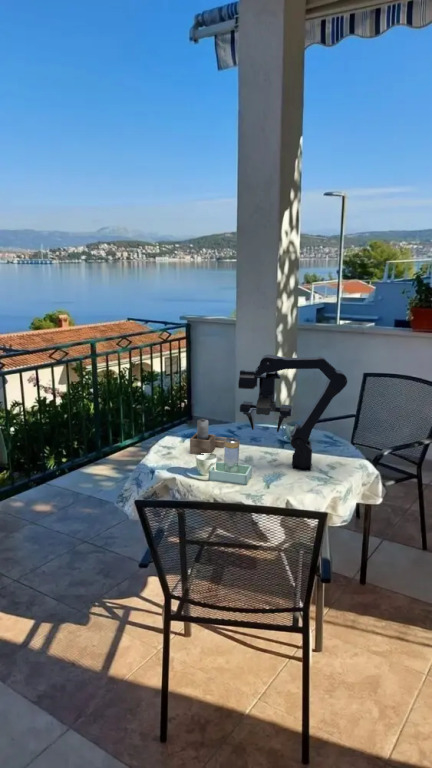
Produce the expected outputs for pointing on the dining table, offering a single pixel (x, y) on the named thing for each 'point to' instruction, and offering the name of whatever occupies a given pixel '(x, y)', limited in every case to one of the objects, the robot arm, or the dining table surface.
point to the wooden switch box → (220, 442)
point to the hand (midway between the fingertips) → (265, 431)
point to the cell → (231, 455)
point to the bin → (202, 439)
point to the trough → (230, 474)
